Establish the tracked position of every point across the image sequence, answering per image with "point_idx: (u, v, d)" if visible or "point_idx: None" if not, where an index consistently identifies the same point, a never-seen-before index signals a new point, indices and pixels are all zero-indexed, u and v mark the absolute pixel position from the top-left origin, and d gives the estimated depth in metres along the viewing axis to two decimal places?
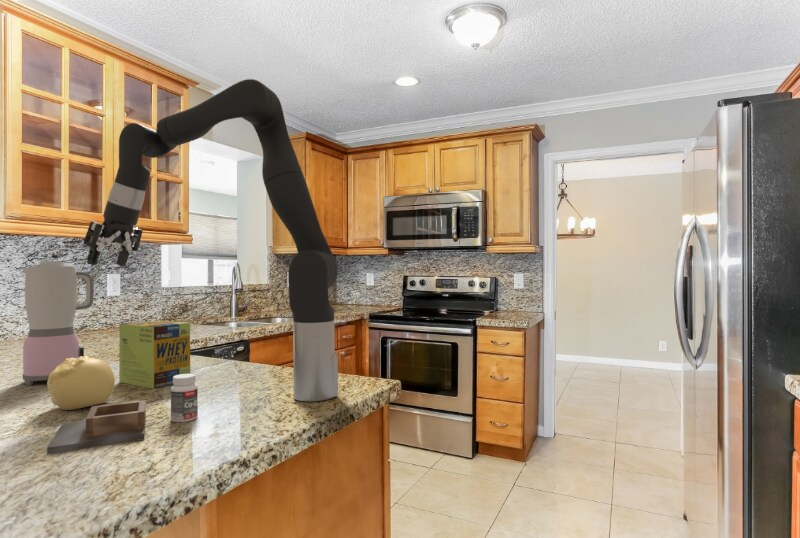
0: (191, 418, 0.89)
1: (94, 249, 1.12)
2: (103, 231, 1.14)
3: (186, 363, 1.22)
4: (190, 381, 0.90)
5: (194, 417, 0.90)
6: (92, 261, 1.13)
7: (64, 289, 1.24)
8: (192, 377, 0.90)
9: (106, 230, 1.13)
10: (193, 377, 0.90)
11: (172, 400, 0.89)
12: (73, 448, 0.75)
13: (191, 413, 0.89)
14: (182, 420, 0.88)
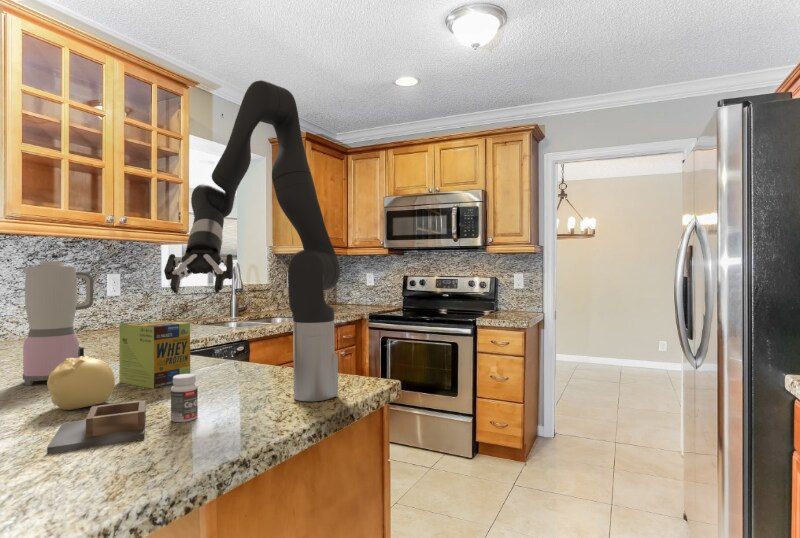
0: (191, 418, 0.89)
1: (172, 275, 1.03)
2: None
3: (186, 363, 1.22)
4: (190, 381, 0.90)
5: (194, 417, 0.90)
6: (171, 285, 1.01)
7: (64, 289, 1.23)
8: (192, 377, 0.90)
9: (182, 259, 1.07)
10: (193, 377, 0.90)
11: (172, 400, 0.89)
12: (73, 448, 0.75)
13: (191, 413, 0.89)
14: (182, 420, 0.88)
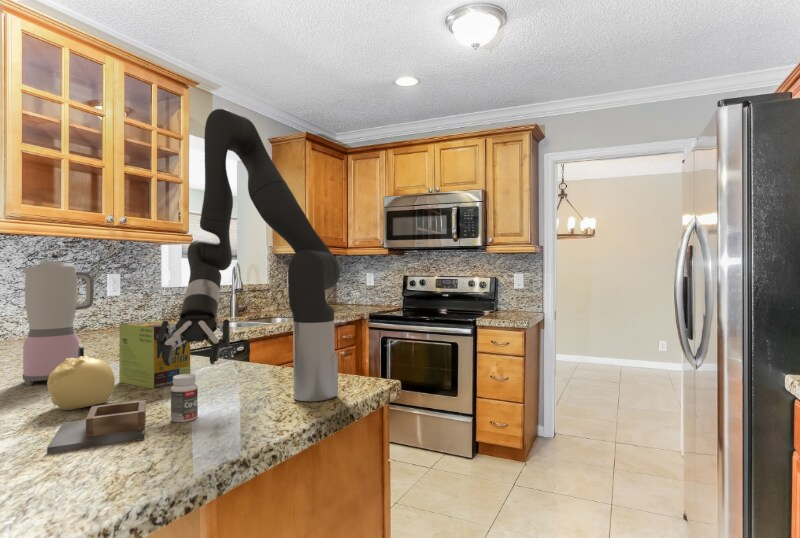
0: (191, 418, 0.89)
1: (164, 346, 0.97)
2: None
3: (186, 363, 1.22)
4: (190, 381, 0.90)
5: (194, 417, 0.90)
6: (163, 358, 0.95)
7: (64, 289, 1.24)
8: (192, 377, 0.90)
9: (176, 326, 1.01)
10: (193, 377, 0.90)
11: (172, 400, 0.89)
12: (73, 448, 0.75)
13: (191, 413, 0.89)
14: (182, 420, 0.88)
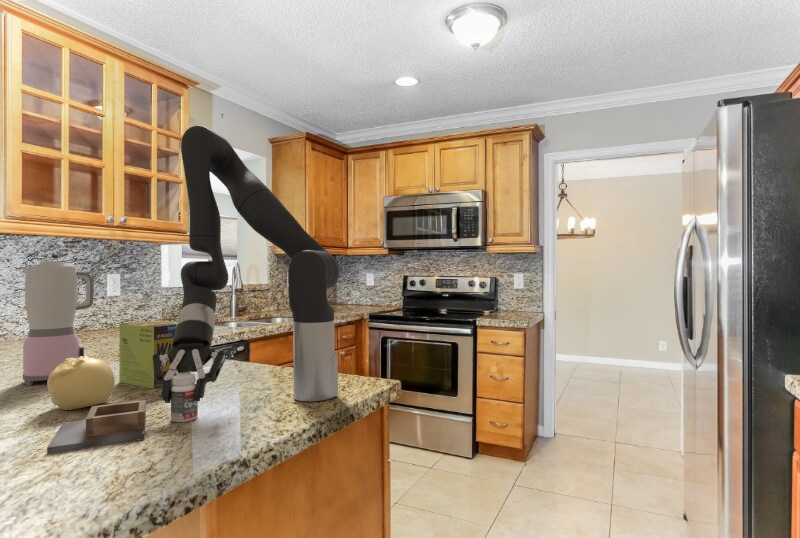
0: (191, 418, 0.89)
1: (163, 381, 0.90)
2: None
3: None
4: (190, 381, 0.89)
5: (194, 417, 0.90)
6: (162, 395, 0.88)
7: (64, 289, 1.23)
8: (192, 377, 0.90)
9: (169, 356, 0.94)
10: (193, 377, 0.90)
11: (172, 400, 0.89)
12: (73, 448, 0.75)
13: (191, 413, 0.89)
14: (182, 420, 0.88)
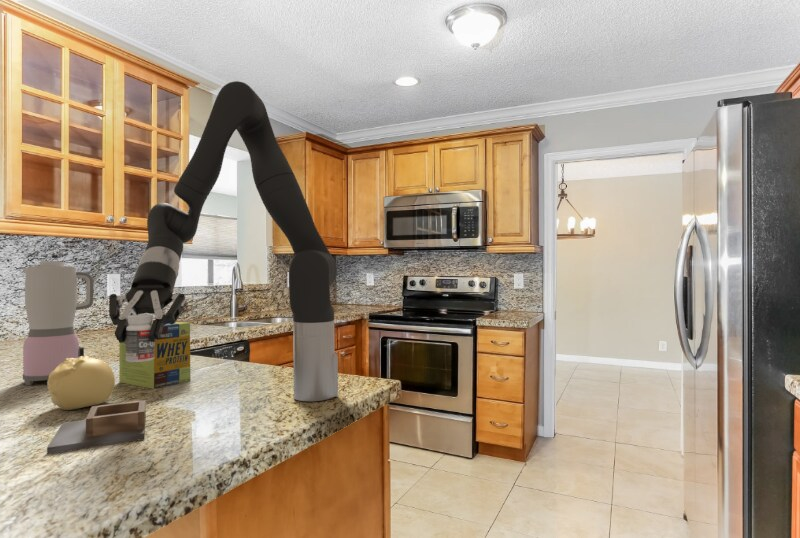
0: (146, 359, 0.86)
1: (118, 320, 0.86)
2: None
3: (186, 363, 1.22)
4: (145, 320, 0.86)
5: (150, 358, 0.86)
6: (116, 333, 0.84)
7: (64, 289, 1.23)
8: (148, 316, 0.86)
9: (127, 297, 0.90)
10: (149, 317, 0.87)
11: (126, 339, 0.85)
12: (73, 448, 0.75)
13: (146, 353, 0.85)
14: (136, 360, 0.85)
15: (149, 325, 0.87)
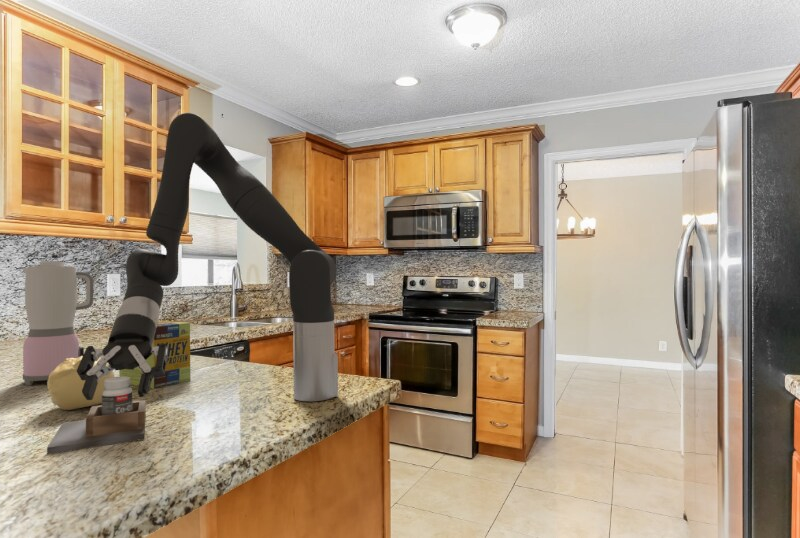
0: None
1: (86, 376, 0.83)
2: None
3: (186, 363, 1.22)
4: (122, 384, 0.83)
5: None
6: (83, 391, 0.81)
7: (64, 289, 1.24)
8: (125, 380, 0.83)
9: (103, 352, 0.87)
10: (126, 380, 0.84)
11: (102, 405, 0.82)
12: (73, 448, 0.75)
13: None
14: None
15: (126, 389, 0.84)
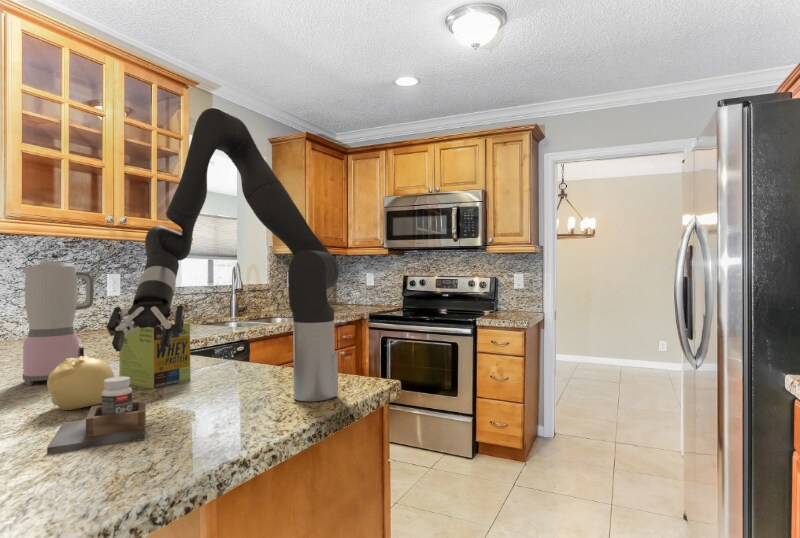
0: None
1: (115, 332, 0.96)
2: None
3: (186, 363, 1.22)
4: (122, 384, 0.83)
5: None
6: (113, 343, 0.94)
7: (64, 289, 1.23)
8: (125, 380, 0.83)
9: (128, 312, 1.00)
10: (126, 380, 0.84)
11: (102, 405, 0.82)
12: (73, 448, 0.75)
13: None
14: None
15: (126, 389, 0.84)
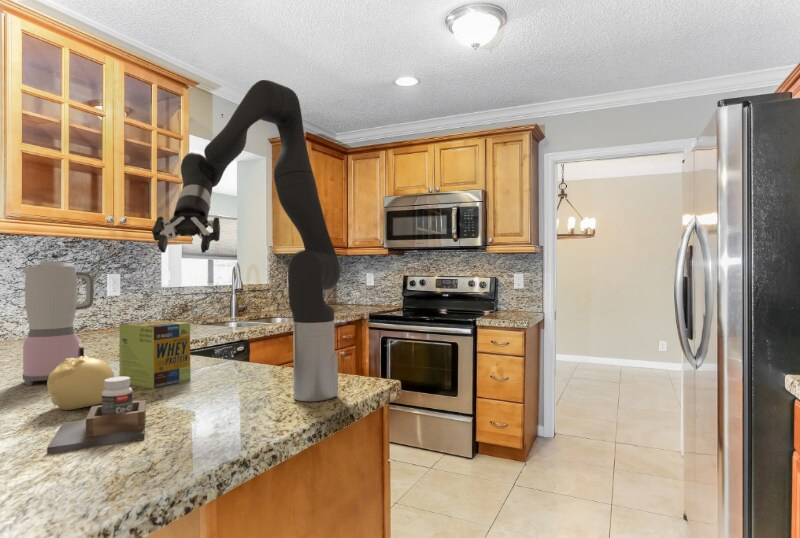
0: None
1: (159, 236, 1.06)
2: (174, 227, 1.10)
3: (186, 363, 1.22)
4: (122, 384, 0.83)
5: None
6: (159, 244, 1.04)
7: (64, 289, 1.24)
8: (125, 380, 0.83)
9: (170, 221, 1.10)
10: (127, 380, 0.84)
11: (103, 405, 0.82)
12: (73, 448, 0.75)
13: None
14: None
15: (126, 389, 0.84)
